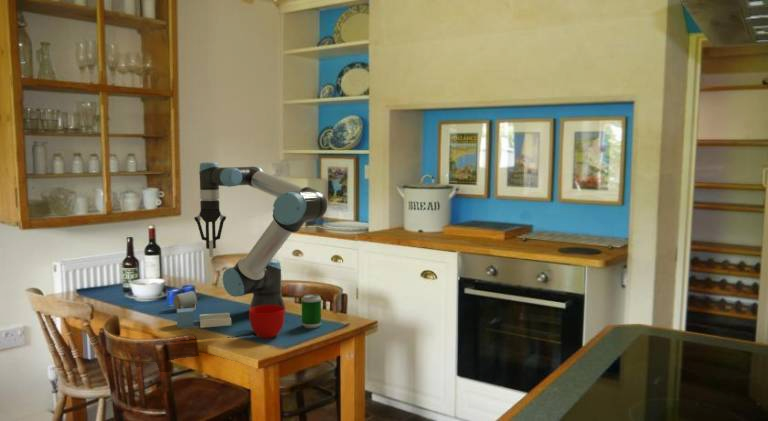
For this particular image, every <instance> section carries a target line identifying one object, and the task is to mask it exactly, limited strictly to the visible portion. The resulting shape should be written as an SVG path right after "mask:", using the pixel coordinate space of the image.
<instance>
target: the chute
mask: <svg viewBox="0 0 768 421" xmlns="http://www.w3.org/2000/svg"><path fill="white" fill-rule="evenodd" d="M196 323H199V324H200V325H194V326H188V327H181V328H180V329H181V330H188V329H189V330H190V329H199V328H212V327H226V326H232V317H231V313H230V312H222V313H221V312H219V313H206V314H204V313H203V314H199V320H198V319H197V320H194V324H196Z"/></svg>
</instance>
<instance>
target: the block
mask: <svg viewBox="0 0 768 421" xmlns="http://www.w3.org/2000/svg"><path fill="white" fill-rule="evenodd" d="M194 315H195V314H194V312H193V308H186V309H177V310H176V322H177V325H176V327H177V329H181V327H188V326H195V323H194V321H195V320H194V319H195V318H194Z"/></svg>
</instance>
